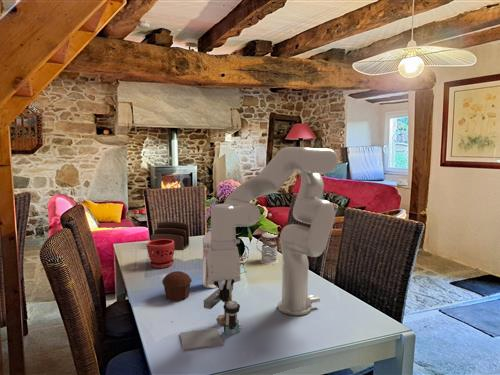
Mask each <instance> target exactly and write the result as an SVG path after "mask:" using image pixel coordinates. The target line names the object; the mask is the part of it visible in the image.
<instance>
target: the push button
mask: <svg viewBox="0 0 500 375" xmlns="http://www.w3.org/2000/svg"><path fill="white" fill-rule="evenodd" d="M240 308H241V305H240V304H239V303H238V302H237V301H236V300H232V301H228V302H227V303H226V304H225V305H223V309H224V311H225V312H226V324H224V326H223V333H224V334H225V336H229V335H235V334H237V333H240V330H243V329H244V328H243V327H244V325H243V324H240V323H239V324H238V321H237V319H238V313H239V312H240Z"/></svg>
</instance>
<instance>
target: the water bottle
mask: <svg viewBox="0 0 500 375" xmlns="http://www.w3.org/2000/svg"><path fill="white" fill-rule="evenodd" d="M207 230H208V231H207V233H205V235H203V237H202V285H203V287H204V288H206V289H215V288H217V287H216V286H215V285H210V284H208V283H207V278H208V276H207V257H208V250H209V248H210V247H211V227H210V228H208V229H207Z"/></svg>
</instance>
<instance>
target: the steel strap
mask: <svg viewBox="0 0 500 375" xmlns="http://www.w3.org/2000/svg"><path fill="white" fill-rule="evenodd" d="M222 284H223V287H224V285H225V280H223V281H222ZM233 290H234V284H233V285H232V286H231V287H230V289H229V293H230V292H231V291H232V292H233ZM220 302H222V300H221V299H220V298H219V288H217V289H216V290H215V291H214V292H212V293H211V294H210V295H209V296H207V297H206V298H205V299H204V300H203V309H206V310H207V309H208V310H212V309H213V308H214V307H215V306H216V305H217V304H219V303H220Z"/></svg>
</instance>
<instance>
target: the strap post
mask: <svg viewBox="0 0 500 375" xmlns="http://www.w3.org/2000/svg"><path fill="white" fill-rule="evenodd" d="M228 301H233V290H232V291H231V292H230V293H229V298H228ZM228 301H227V302H228ZM227 302H226V301H224V302H223V303H224V305H225V304H226V303H227ZM224 305H223V306H224ZM217 319H218V321H219V323H220V326H221V327H222V326H223V327H224V324H226V312H225V311H224V314H218V315H217ZM237 321H238V324H239V325H240V322H239V319H238V318H237Z"/></svg>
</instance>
